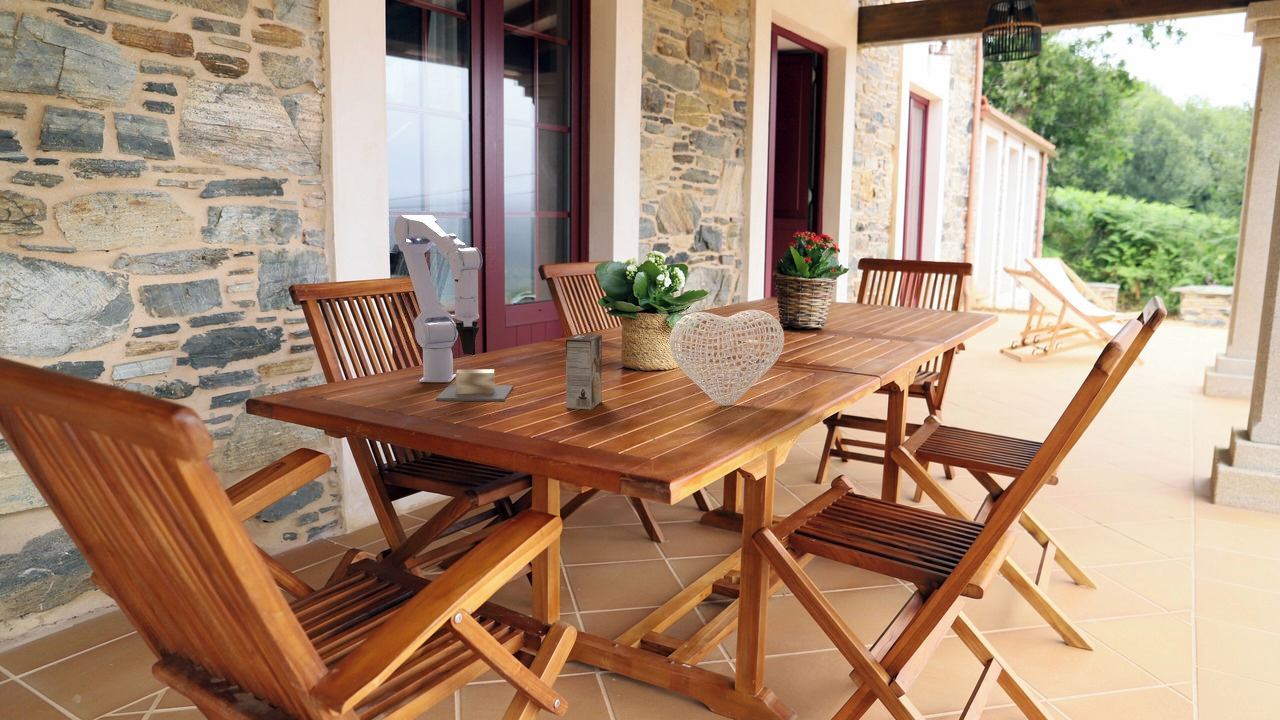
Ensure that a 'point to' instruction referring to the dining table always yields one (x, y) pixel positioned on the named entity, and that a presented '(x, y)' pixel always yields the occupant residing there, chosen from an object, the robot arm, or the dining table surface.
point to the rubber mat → (498, 395)
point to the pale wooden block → (475, 381)
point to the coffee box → (583, 371)
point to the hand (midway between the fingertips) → (467, 351)
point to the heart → (727, 320)
